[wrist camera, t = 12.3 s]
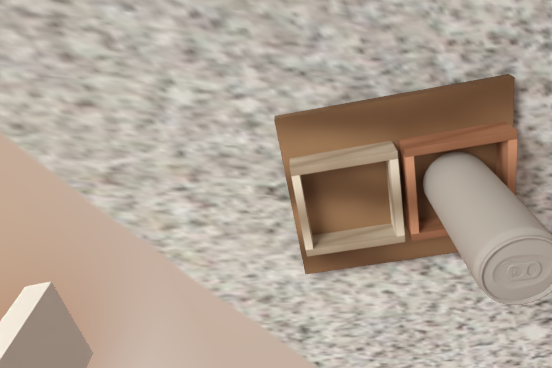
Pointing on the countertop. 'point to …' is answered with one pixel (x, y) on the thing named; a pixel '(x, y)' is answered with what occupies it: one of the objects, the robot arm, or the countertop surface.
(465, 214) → the beverage can
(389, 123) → the socket board
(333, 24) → the countertop surface
